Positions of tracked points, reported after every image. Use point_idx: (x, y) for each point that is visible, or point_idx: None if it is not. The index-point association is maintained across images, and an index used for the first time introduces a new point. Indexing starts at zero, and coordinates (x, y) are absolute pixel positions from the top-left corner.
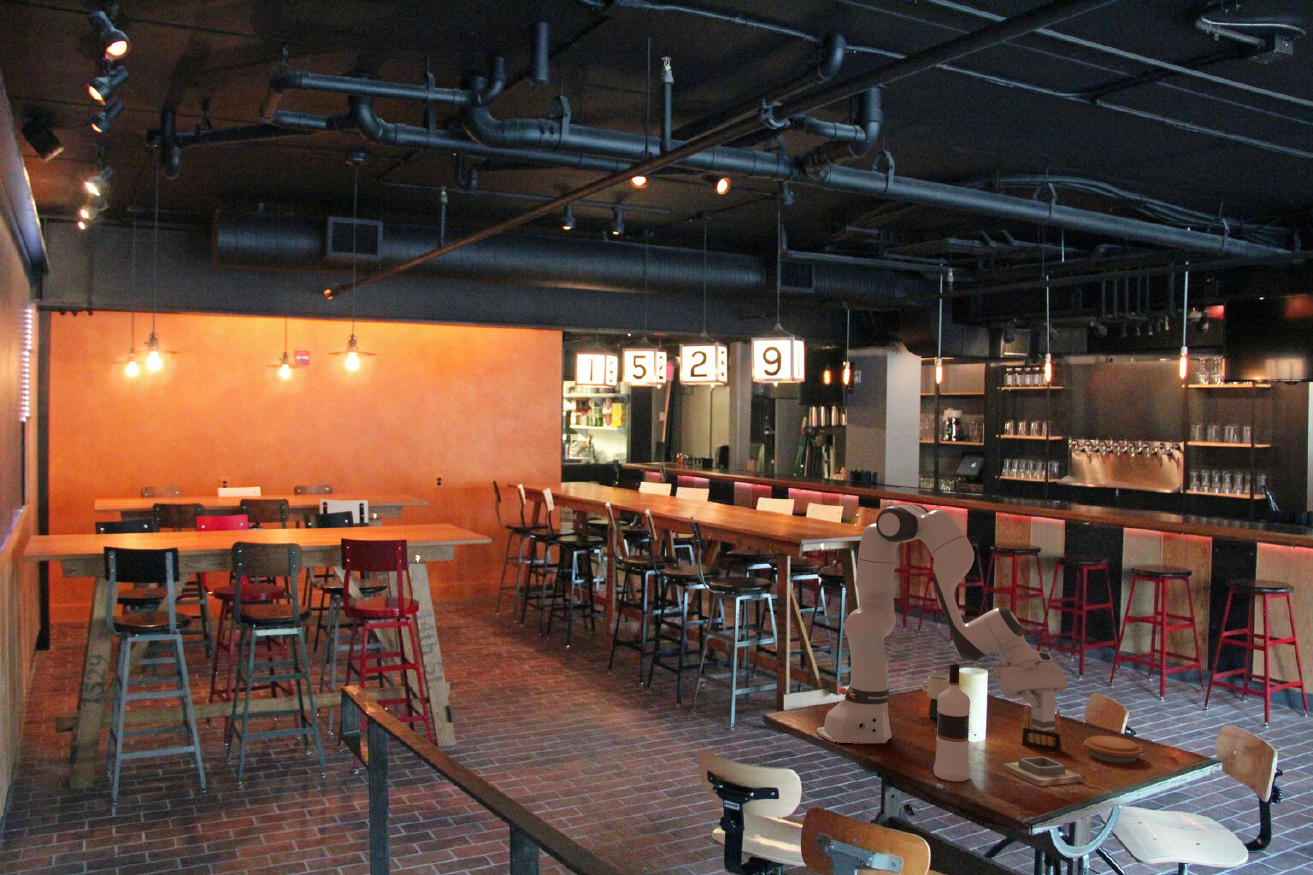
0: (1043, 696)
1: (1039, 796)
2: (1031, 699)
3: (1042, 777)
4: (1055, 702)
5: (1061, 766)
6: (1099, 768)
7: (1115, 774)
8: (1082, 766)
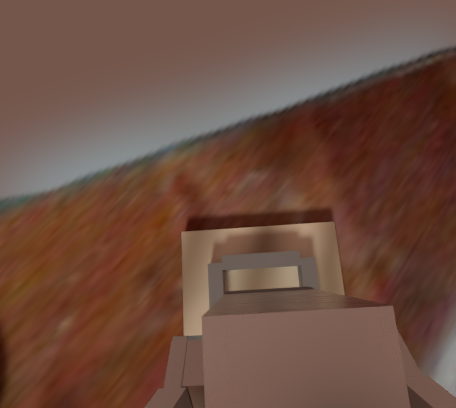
0: (367, 302)
1: (373, 157)
2: (437, 390)
3: (306, 242)
4: (179, 344)
5: (228, 257)
6: (46, 325)
7: (46, 268)
8: (80, 354)
